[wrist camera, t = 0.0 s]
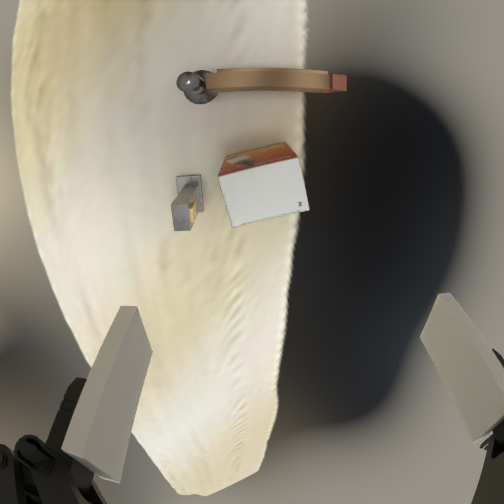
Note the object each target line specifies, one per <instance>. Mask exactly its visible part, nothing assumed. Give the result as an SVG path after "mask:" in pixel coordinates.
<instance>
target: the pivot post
mask: <svg viewBox="0 0 504 504" xmlns="http://www.w3.org/2000/svg"><path fill="white" fill-rule="evenodd" d="M206 73H211V72H209V71H204V70H200V71H196V72H194V73H192V72H184V73H182V74H181V75H180V76H179V77H178V79H177V86H178V88H179V89H180V90H181V91H184V94H185V96H186V98H187V99H188V100H189V101H191V102H193V103H196V104H205V103H208V102H210V101H212V100H213V99H214V98H215V97H216V96H217V94H218V92H213V91H210V90H208V89H206Z"/></svg>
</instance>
